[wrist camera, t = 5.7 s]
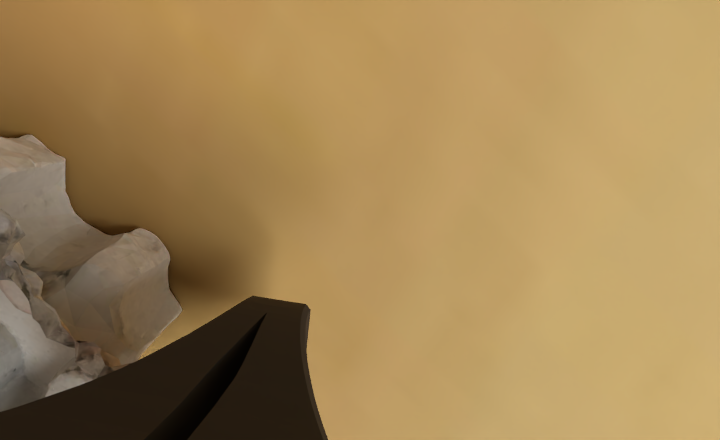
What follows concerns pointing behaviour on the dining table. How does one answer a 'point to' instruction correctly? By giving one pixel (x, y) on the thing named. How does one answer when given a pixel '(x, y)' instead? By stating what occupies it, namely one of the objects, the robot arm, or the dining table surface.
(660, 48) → the dining table surface
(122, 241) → the egg carton
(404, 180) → the dining table surface
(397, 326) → the dining table surface
